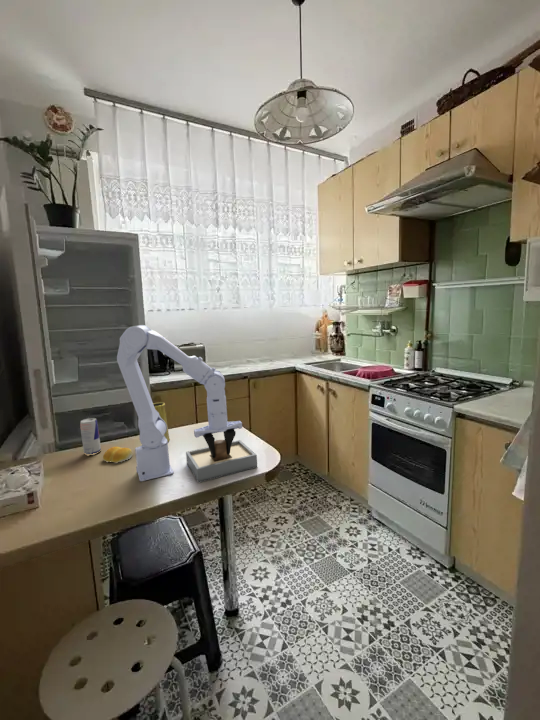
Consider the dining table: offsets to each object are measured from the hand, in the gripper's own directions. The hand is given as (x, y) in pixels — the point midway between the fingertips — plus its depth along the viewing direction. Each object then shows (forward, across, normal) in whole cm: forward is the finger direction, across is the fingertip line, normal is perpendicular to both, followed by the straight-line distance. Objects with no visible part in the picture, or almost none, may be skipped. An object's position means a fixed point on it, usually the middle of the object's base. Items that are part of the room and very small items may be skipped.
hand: (220, 454), depth 109 cm
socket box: (+3, 0, 0) cm, 3 cm away
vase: (+4, -13, +32) cm, 35 cm away
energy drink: (+4, -36, +34) cm, 50 cm away
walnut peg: (+2, 0, 0) cm, 2 cm away
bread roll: (+4, -28, +24) cm, 37 cm away
